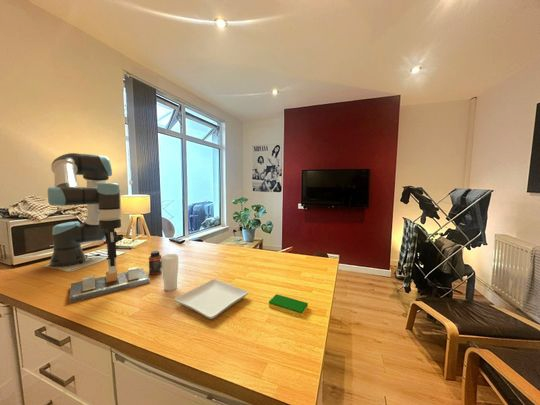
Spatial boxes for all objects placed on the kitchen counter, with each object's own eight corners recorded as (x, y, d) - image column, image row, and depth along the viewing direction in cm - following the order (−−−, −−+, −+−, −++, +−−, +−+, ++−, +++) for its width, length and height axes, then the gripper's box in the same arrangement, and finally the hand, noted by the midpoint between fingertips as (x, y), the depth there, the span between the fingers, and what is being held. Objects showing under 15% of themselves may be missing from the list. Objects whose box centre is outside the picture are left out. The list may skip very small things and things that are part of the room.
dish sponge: (276, 299, 90) (276, 293, 90) (307, 308, 84) (308, 302, 83) (268, 307, 84) (268, 301, 84) (301, 318, 77) (301, 312, 77)
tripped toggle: (106, 280, 98) (105, 270, 98) (116, 278, 101) (116, 268, 100) (106, 282, 96) (105, 271, 96) (117, 280, 99) (116, 269, 99)
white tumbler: (182, 286, 99) (181, 254, 98) (170, 293, 92) (170, 259, 91) (170, 284, 101) (169, 253, 100) (158, 290, 95) (157, 257, 93)
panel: (71, 287, 96) (70, 272, 95) (143, 272, 114) (142, 258, 113) (69, 303, 84) (68, 285, 83) (149, 282, 102) (149, 267, 101)
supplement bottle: (164, 271, 115) (164, 251, 114) (154, 275, 109) (153, 254, 109) (156, 269, 117) (156, 249, 116) (146, 273, 112) (146, 252, 111)
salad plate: (211, 326, 72) (211, 316, 72) (173, 306, 83) (173, 298, 83) (249, 298, 90) (249, 290, 90) (214, 285, 101) (214, 278, 101)
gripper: (98, 218, 94) (100, 270, 95) (99, 221, 84) (102, 280, 86) (119, 216, 99) (121, 266, 100) (122, 220, 89) (125, 275, 91)
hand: (112, 272), depth 93 cm, fingers closed
